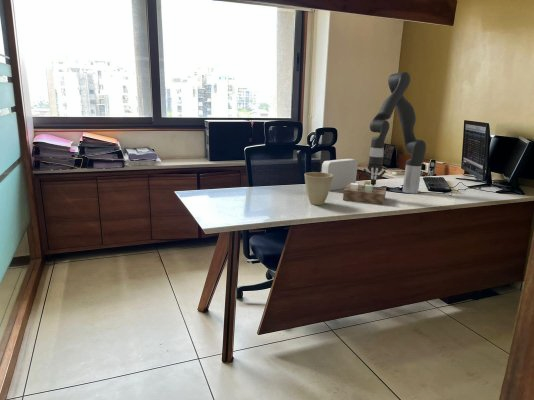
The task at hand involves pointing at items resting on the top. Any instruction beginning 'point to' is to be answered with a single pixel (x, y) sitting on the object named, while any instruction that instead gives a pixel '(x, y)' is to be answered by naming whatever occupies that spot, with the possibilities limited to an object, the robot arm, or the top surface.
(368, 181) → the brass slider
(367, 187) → the sage green button
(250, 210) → the top surface
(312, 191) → the plant pot
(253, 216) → the top surface
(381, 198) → the switch panel
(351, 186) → the off-white button
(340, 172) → the rounded white slab
